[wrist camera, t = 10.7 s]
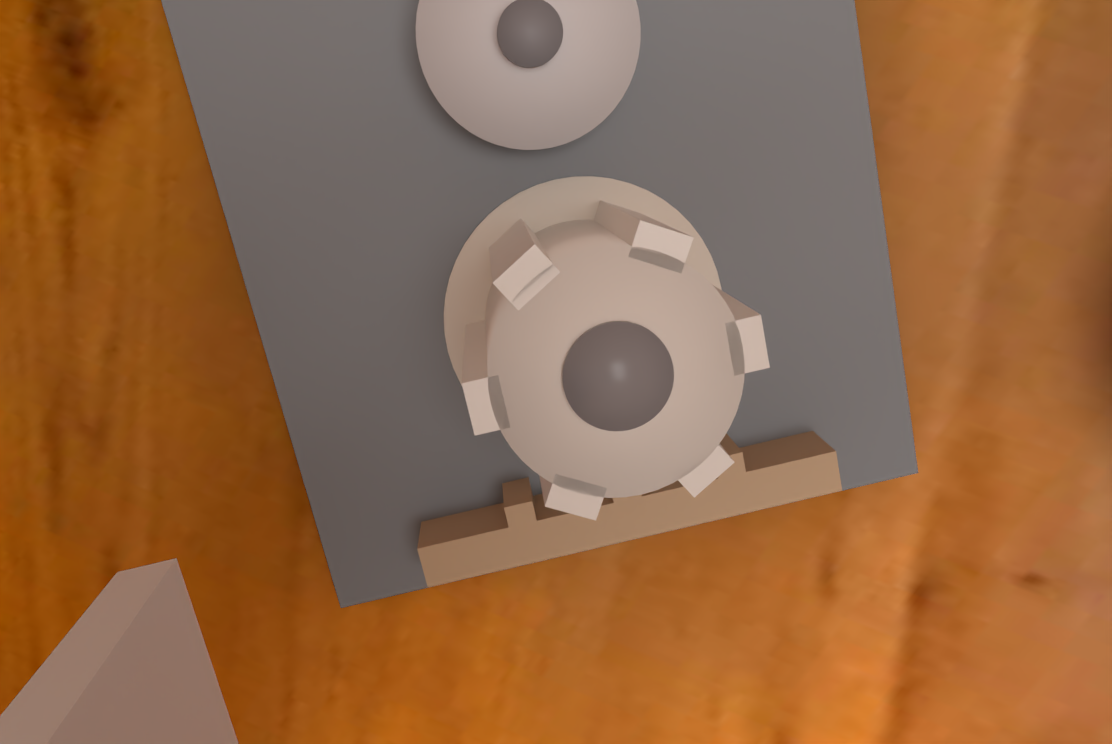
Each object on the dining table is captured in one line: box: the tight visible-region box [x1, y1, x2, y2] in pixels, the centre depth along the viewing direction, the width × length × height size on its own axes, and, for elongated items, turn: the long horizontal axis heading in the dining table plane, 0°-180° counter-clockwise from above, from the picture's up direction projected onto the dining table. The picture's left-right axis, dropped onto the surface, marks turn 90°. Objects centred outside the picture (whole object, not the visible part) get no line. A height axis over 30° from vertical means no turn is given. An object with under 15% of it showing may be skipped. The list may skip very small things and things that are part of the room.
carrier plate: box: [161, 0, 918, 608], centre depth 27 cm, size 18×18×4 cm
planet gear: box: [462, 200, 770, 521], centre depth 25 cm, size 7×6×7 cm
